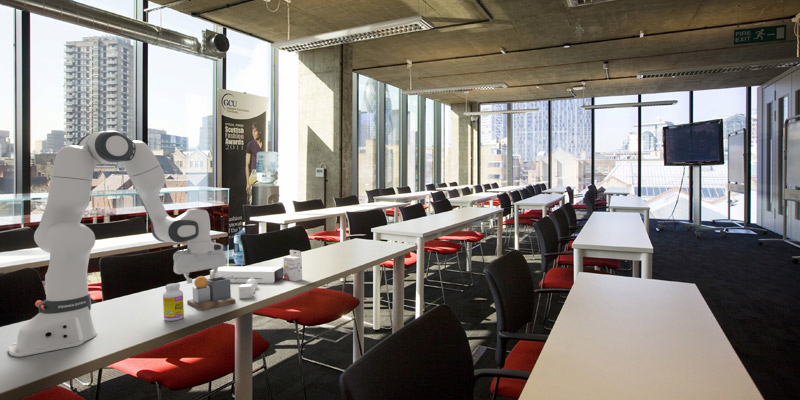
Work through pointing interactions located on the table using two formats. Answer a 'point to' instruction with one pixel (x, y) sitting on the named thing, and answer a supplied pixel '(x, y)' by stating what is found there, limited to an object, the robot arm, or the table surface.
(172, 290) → the supplement bottle
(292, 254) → the ink cartridge box
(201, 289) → the light grey square container
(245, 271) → the laminator
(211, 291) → the dark grey square container
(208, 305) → the brown wooden tray
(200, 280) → the ball
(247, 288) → the white dumbbell
